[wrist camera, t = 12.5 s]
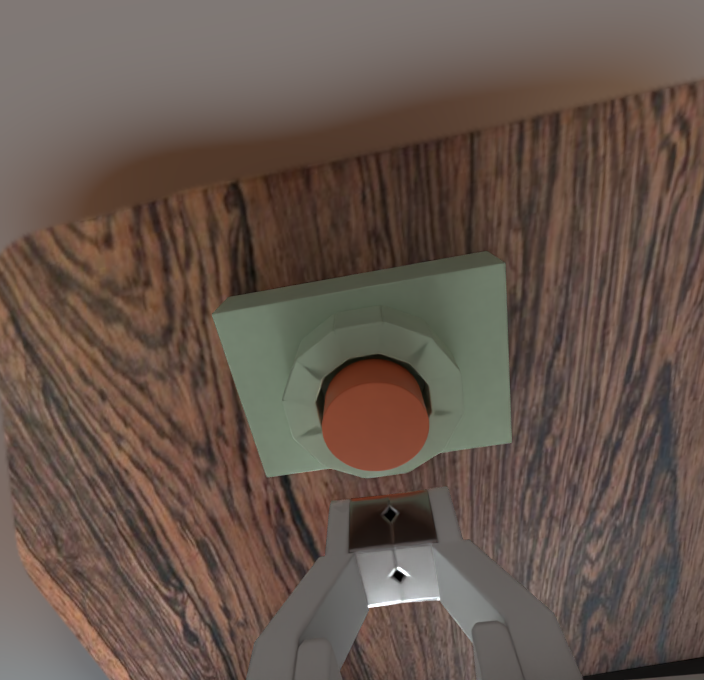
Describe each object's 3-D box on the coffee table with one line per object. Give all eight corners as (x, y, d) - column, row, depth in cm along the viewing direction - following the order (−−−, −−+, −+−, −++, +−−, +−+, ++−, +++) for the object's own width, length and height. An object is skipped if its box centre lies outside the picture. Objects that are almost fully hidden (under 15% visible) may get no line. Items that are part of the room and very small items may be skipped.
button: (335, 447, 16) (333, 478, 14) (316, 366, 15) (311, 391, 13) (426, 433, 16) (434, 464, 14) (415, 350, 14) (423, 373, 13)
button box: (275, 447, 20) (257, 508, 17) (227, 296, 17) (193, 331, 14) (495, 414, 20) (528, 472, 16) (487, 250, 17) (525, 274, 13)
